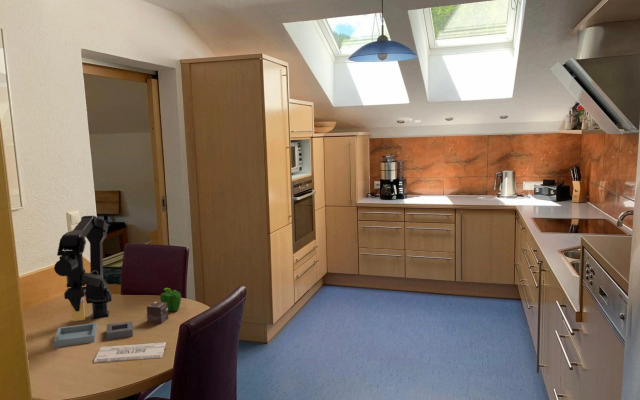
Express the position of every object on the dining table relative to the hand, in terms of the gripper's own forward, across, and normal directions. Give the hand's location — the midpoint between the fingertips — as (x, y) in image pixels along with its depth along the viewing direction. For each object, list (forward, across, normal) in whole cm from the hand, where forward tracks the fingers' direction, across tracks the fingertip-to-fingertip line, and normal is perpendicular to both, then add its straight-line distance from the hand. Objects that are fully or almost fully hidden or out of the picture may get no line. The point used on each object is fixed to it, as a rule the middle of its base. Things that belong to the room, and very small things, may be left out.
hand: (78, 309), depth 182 cm
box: (+11, +6, -28) cm, 31 cm away
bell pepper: (+11, +18, -34) cm, 40 cm away
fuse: (+4, 0, 0) cm, 4 cm away
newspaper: (+12, -20, -17) cm, 29 cm away
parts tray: (+11, 0, +1) cm, 11 cm away
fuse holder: (+11, -2, -14) cm, 18 cm away
